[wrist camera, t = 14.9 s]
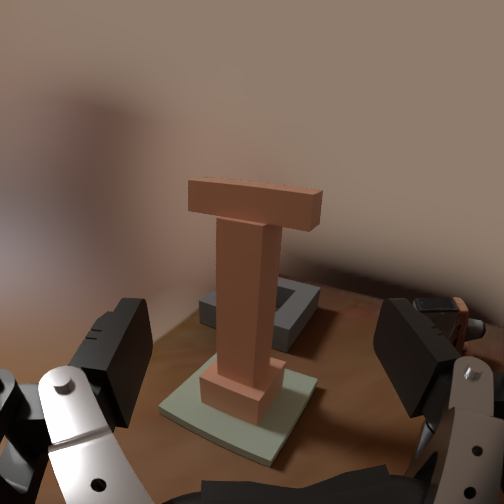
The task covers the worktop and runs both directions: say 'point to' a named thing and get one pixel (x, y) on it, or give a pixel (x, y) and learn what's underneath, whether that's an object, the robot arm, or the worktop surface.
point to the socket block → (286, 318)
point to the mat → (233, 429)
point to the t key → (248, 286)
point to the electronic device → (452, 321)
